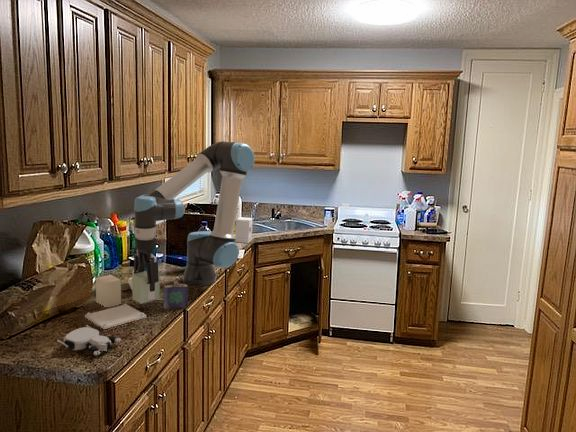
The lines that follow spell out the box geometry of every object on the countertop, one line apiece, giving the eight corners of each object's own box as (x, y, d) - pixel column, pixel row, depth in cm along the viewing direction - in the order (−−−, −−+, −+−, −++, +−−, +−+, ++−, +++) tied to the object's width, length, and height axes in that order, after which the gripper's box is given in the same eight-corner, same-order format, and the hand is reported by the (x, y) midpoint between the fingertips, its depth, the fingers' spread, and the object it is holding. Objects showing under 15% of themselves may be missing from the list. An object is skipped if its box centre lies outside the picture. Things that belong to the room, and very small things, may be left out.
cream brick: (110, 298, 183) (110, 274, 181) (121, 304, 178) (120, 279, 176) (96, 302, 178) (95, 277, 177) (106, 308, 173) (105, 283, 171)
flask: (163, 309, 175) (164, 282, 173) (163, 306, 178) (163, 280, 176) (188, 308, 178) (188, 281, 176) (187, 305, 181) (187, 279, 179)
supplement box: (248, 243, 288) (249, 220, 285) (234, 242, 289) (235, 219, 287) (252, 240, 297) (253, 217, 294) (238, 239, 298) (239, 216, 296)
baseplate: (126, 307, 175) (126, 302, 175) (146, 318, 166) (146, 313, 166) (84, 318, 163) (84, 313, 163) (104, 330, 154) (104, 325, 154)
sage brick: (151, 294, 180) (150, 270, 178) (159, 298, 176) (159, 273, 174) (132, 299, 174) (132, 274, 172) (141, 303, 170) (140, 278, 168)
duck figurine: (127, 294, 194) (117, 279, 186) (135, 280, 199) (126, 264, 191) (152, 298, 191) (143, 283, 183) (160, 284, 196) (151, 268, 188)
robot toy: (123, 347, 145) (84, 335, 150) (123, 334, 145) (85, 322, 149) (96, 364, 134) (55, 351, 138) (96, 350, 133) (55, 337, 137)
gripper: (123, 234, 174) (124, 292, 178) (150, 244, 162) (151, 306, 166) (140, 231, 180) (141, 287, 184) (168, 241, 167) (168, 301, 172)
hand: (146, 296), depth 175 cm, fingers closed on sage brick, 6 cm apart
